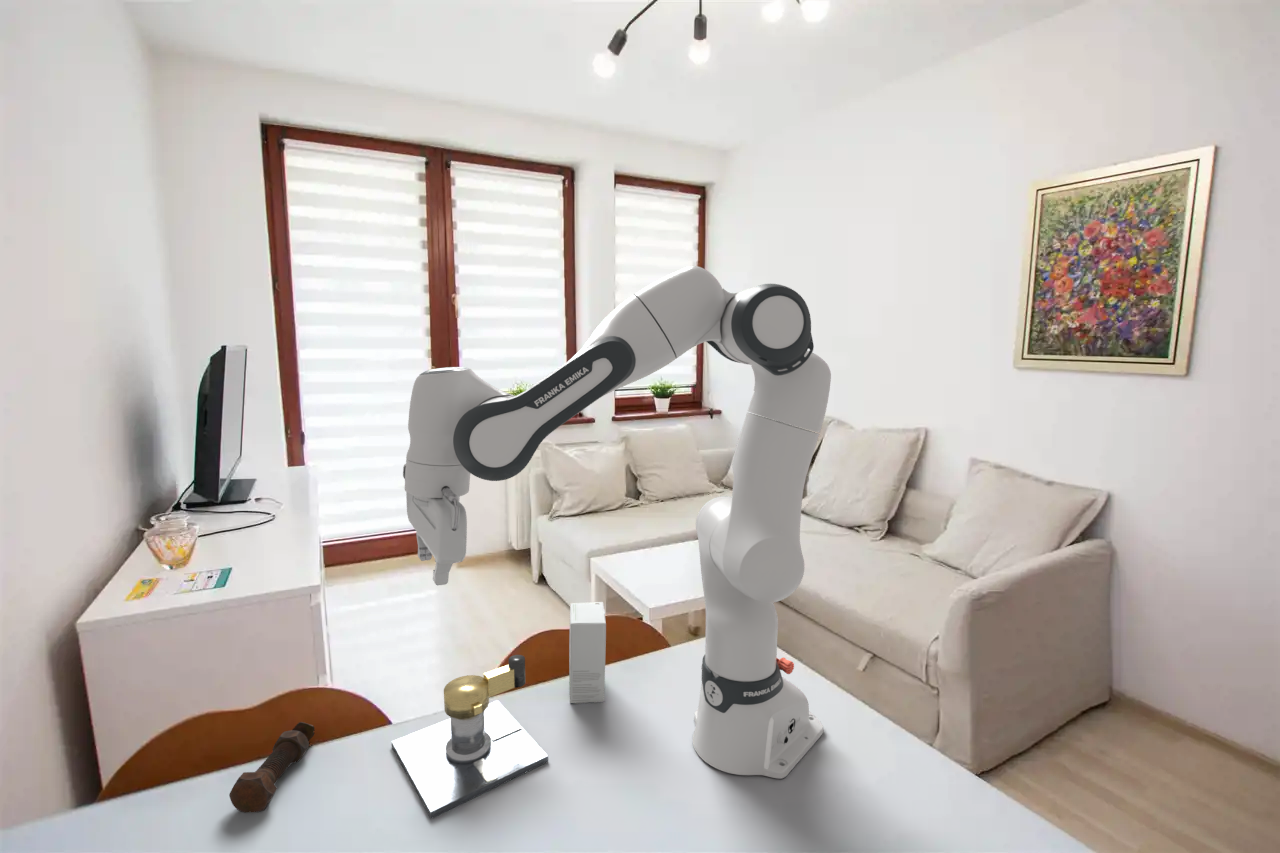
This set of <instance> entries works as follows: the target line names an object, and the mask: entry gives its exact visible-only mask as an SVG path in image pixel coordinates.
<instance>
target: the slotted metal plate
mask: <svg viewBox="0 0 1280 853" xmlns="http://www.w3.org/2000/svg"><path fill="white" fill-rule="evenodd" d="M391 748H392V750H393V752H394V754H395V755H396V758H397V759H398V760H399V763H400V764H401V766H402V768H403V770H404V772H405V773H406V775H407V777H408V779H409V781H410V783H411V785H412V786H413V788H414V791H415V792H416V794H417V796H418V797H419V799H420V801H421V803H422V805H423V806H424V808H425V810H426V812H427V814H428V815H429V816H428V817H430V819H433V818H435V817H437V816H439V815H441V814H444V813H445V812H447V811H449V810H451V809H454V808H456V807H458V806H460V805H462V804H464V803H466V802H469V801H470V800H473V799H475V798H476V797H478V796H481V795H482V794H485V793H487V792H489V791H491V790H493V789H495V788H497V787H499V786H501V785H503V784H505V783H507V782H509V781H508V780H510V779H512V778H514V777H516V778H518V777H520V776H521V774H522V775H524V774H526V773H527V772H526V771H528V772H530V771H532V770H534V769H536V768H538V767H541V766H542V765H544V763H545V764H547V763H548V762H549V755H548V754H547V753H546V752H545V751H544V749H543V748H542V747H541V746H540V745H539V744H538V742H536V740H535V739H534V738H533V737H532V736H531V734H529V733H528V731H527V730H526V729H525V728H524V727H523V726H522V725H521V724H520V723H519V722H518V721H517V719H515V717H514V716H513V715H512V714H511V713H510V712H509V710H508V709H507V708H505V707H504V705H503V704H502V703H501V702H500V701H499V699H496V700H494V701H492V702H489V705H488V707H487V709H486V710H485V711H483V712H482V713H481V714H479V715H477V716H474V717H471V718H465V719H457V718H452V717H450V716H449V718H447V719H444V720H442V721H440V722H437V723H435V724H432V725H430V726H427V727H425V728H422V729H420V730H417V731H415V732H412V733H409V734H407V735H405V736H402V737H399V738H397V739H394V740H391ZM546 762H547V763H546ZM533 768H534V769H533ZM531 769H532V770H531ZM529 770H530V771H529ZM525 772H526V773H525ZM523 773H524V774H523ZM519 775H520V776H519ZM517 776H518V777H517ZM514 779H515V778H514ZM512 780H513V779H512ZM506 781H507V782H506ZM510 781H511V780H510ZM504 782H505V783H504Z"/></svg>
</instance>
